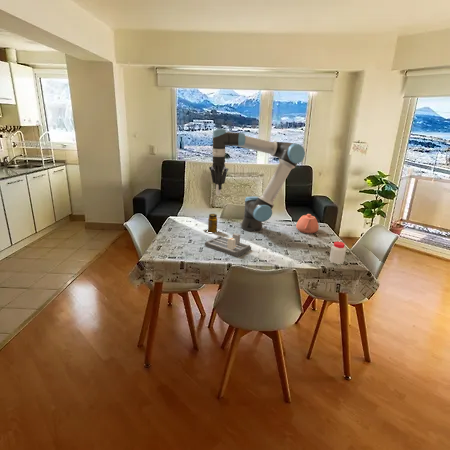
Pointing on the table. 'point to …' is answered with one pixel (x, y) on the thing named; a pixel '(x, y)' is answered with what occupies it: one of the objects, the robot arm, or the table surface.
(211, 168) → the robot arm
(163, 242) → the table surface
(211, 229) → the condiment
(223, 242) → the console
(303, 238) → the table surface
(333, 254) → the pill bottle
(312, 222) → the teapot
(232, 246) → the block
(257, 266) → the table surface
